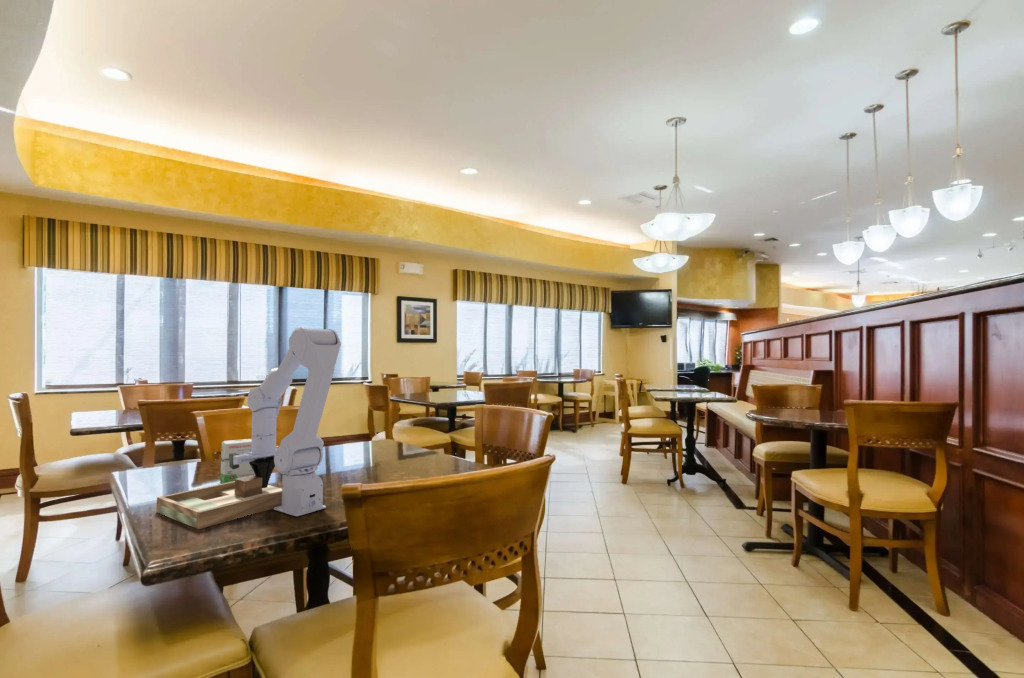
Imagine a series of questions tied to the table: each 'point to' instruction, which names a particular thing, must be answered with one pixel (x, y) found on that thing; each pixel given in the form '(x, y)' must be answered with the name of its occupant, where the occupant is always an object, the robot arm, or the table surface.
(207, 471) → the table surface
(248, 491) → the walnut block
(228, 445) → the ink box
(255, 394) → the robot arm
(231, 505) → the board
